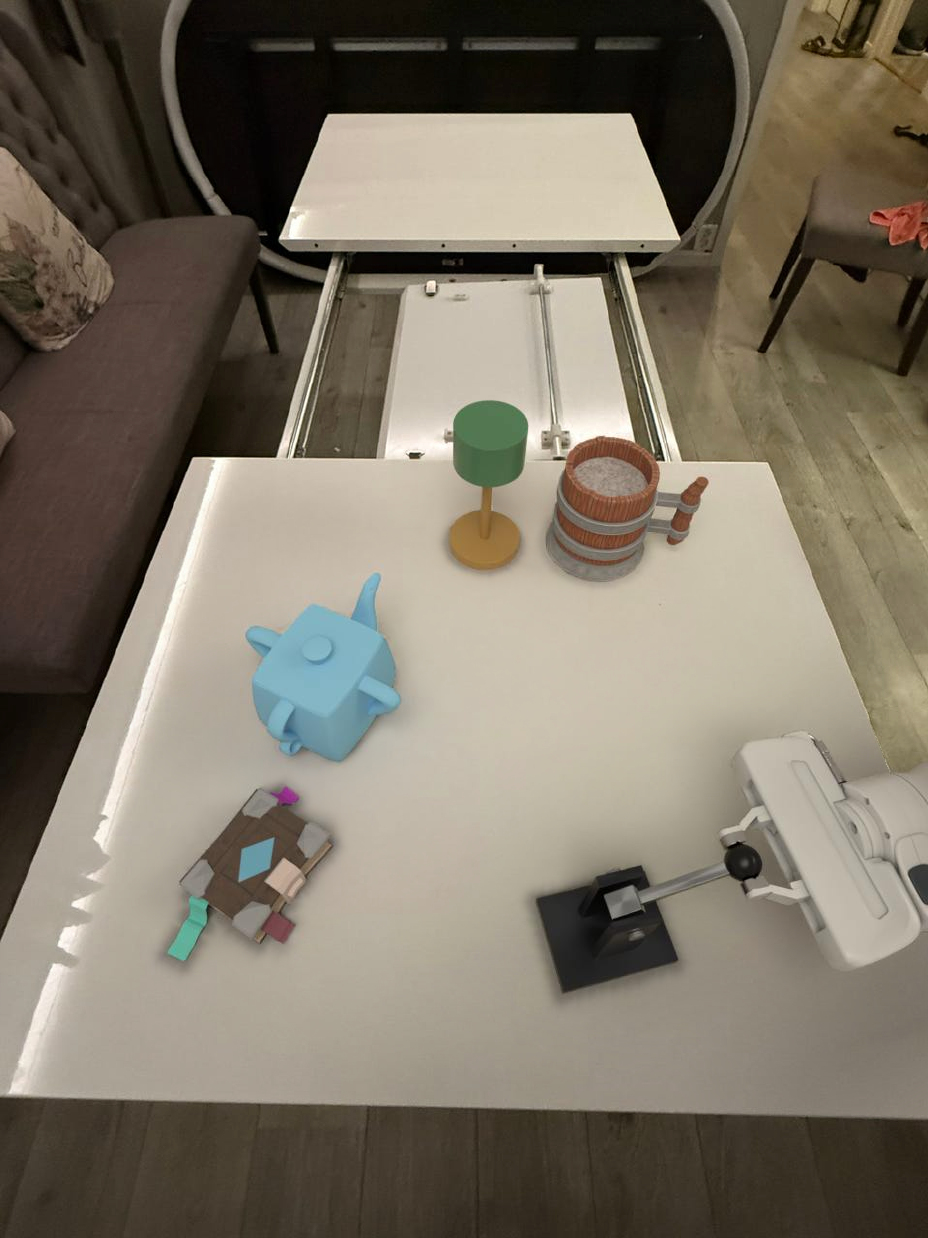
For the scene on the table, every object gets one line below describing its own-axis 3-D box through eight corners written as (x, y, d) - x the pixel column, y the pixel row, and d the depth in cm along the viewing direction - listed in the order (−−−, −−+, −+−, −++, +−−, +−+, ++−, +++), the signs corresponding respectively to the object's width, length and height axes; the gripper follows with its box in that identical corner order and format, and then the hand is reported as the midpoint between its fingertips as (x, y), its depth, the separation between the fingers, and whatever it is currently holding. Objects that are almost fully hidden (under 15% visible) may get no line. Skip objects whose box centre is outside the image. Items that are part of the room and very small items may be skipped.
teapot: (410, 757, 86) (404, 701, 75) (268, 783, 84) (241, 729, 73) (387, 631, 96) (379, 565, 85) (260, 651, 94) (235, 586, 83)
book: (238, 1009, 71) (225, 1002, 66) (147, 937, 74) (129, 926, 70) (362, 836, 80) (357, 821, 76) (276, 780, 84) (267, 762, 80)
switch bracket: (642, 873, 78) (671, 833, 68) (676, 962, 73) (713, 934, 63) (535, 901, 77) (548, 864, 66) (562, 994, 72) (581, 970, 61)
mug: (548, 504, 110) (560, 424, 97) (678, 517, 108) (707, 439, 96) (542, 577, 102) (554, 500, 89) (682, 592, 100) (714, 517, 88)
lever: (752, 842, 66) (751, 835, 63) (769, 878, 64) (768, 871, 62) (607, 893, 69) (600, 888, 66) (619, 929, 67) (613, 925, 64)
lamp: (530, 558, 103) (546, 441, 86) (464, 578, 101) (466, 461, 84) (503, 510, 109) (512, 390, 91) (439, 527, 107) (437, 407, 89)
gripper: (828, 712, 69) (693, 744, 67) (962, 936, 58) (806, 983, 56) (801, 741, 75) (676, 771, 72) (920, 952, 63) (775, 995, 61)
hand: (733, 865), depth 64 cm, fingers closed on lever, 3 cm apart
